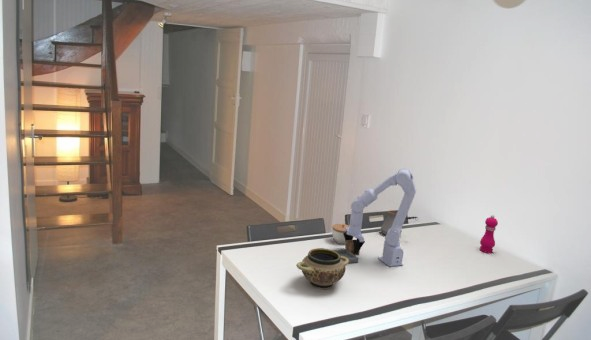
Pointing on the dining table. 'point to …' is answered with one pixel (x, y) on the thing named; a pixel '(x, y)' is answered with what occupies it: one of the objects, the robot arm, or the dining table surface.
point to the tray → (347, 255)
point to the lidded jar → (339, 233)
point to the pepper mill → (488, 235)
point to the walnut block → (350, 246)
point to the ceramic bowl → (323, 267)
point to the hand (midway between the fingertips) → (352, 250)
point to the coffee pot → (391, 221)
